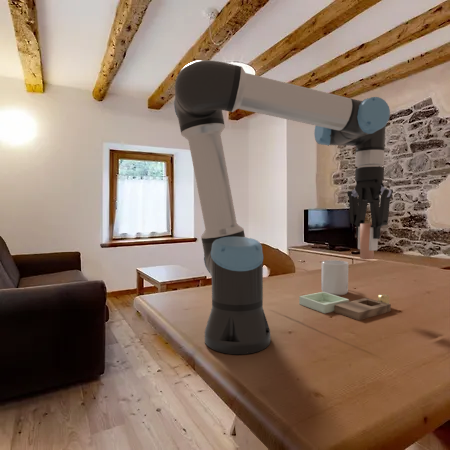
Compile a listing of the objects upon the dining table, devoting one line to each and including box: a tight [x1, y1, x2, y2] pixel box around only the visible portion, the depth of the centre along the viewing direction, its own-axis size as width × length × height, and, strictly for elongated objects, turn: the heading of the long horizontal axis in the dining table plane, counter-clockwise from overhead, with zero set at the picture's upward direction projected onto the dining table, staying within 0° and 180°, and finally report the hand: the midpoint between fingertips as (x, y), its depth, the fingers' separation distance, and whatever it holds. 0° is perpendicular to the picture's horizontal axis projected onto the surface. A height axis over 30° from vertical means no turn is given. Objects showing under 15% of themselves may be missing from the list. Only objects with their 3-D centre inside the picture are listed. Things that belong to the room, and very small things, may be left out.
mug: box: [320, 259, 349, 296], centre depth 115 cm, size 12×9×11 cm
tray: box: [298, 291, 350, 315], centre depth 98 cm, size 10×10×3 cm
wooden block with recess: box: [334, 297, 392, 321], centre depth 92 cm, size 14×8×3 cm, turn 120°
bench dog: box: [377, 293, 390, 304], centre depth 96 cm, size 3×3×4 cm
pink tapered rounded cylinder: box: [359, 222, 375, 260], centre depth 93 cm, size 4×4×10 cm
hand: (367, 249), depth 93 cm, fingers closed on pink tapered rounded cylinder, 3 cm apart
